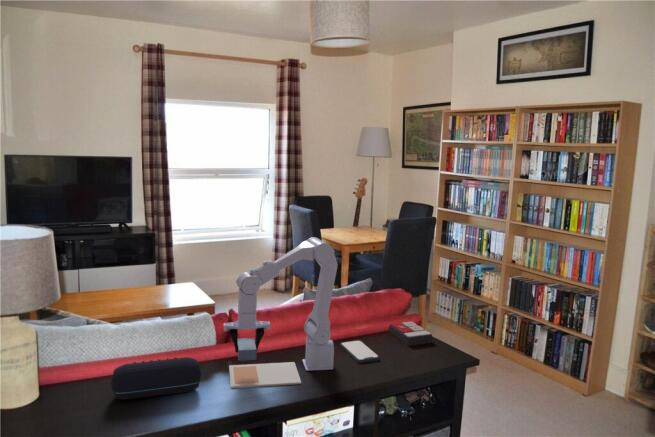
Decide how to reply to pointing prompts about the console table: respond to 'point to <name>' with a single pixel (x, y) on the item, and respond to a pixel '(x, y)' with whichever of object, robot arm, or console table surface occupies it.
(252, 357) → the card deck
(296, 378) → the mat
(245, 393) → the console table surface
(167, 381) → the portable speaker
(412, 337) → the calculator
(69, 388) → the console table surface
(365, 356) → the phone case
